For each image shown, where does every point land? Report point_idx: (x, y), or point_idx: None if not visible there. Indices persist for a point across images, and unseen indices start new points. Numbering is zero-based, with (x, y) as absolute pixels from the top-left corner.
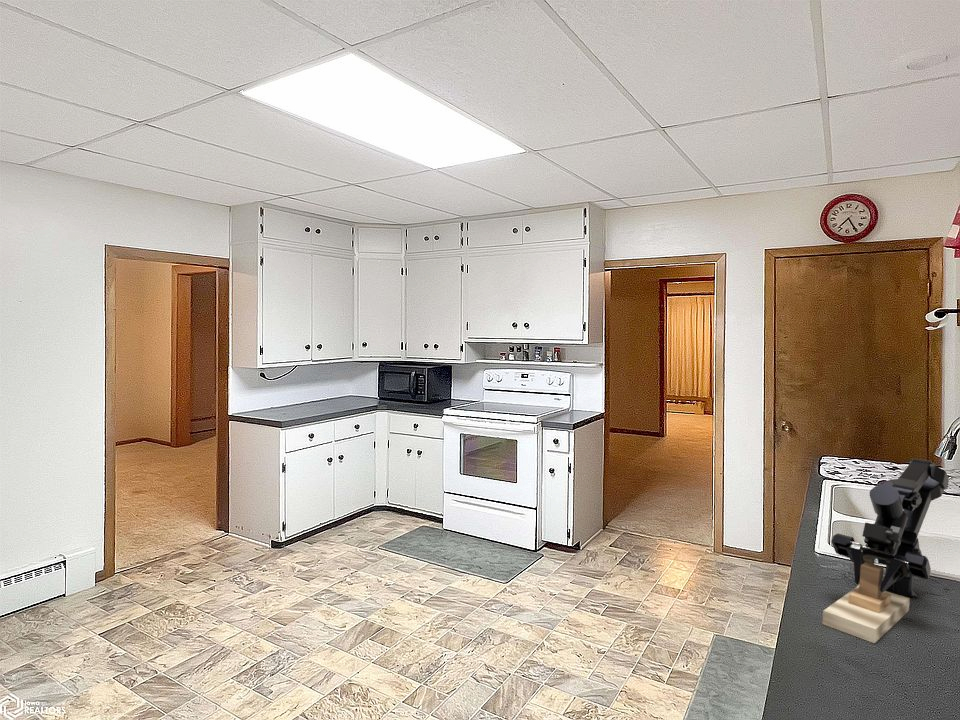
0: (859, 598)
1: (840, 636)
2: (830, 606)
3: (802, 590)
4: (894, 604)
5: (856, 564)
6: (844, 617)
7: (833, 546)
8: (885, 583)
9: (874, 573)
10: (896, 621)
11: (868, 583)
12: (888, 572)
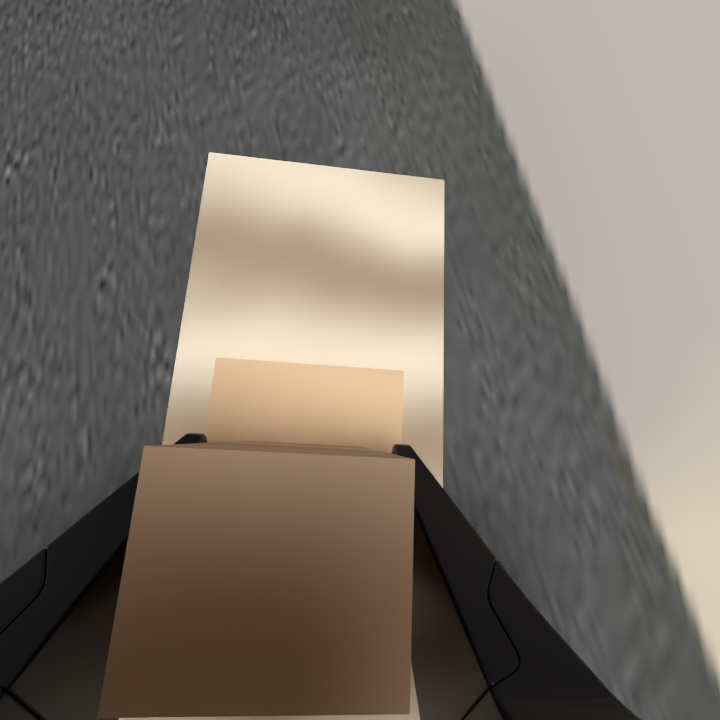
0: (338, 368)
1: (341, 166)
2: (439, 257)
3: (633, 538)
4: None
5: (495, 599)
6: (351, 177)
7: None
8: (138, 475)
9: (228, 447)
10: None
11: (301, 446)
12: (34, 609)
